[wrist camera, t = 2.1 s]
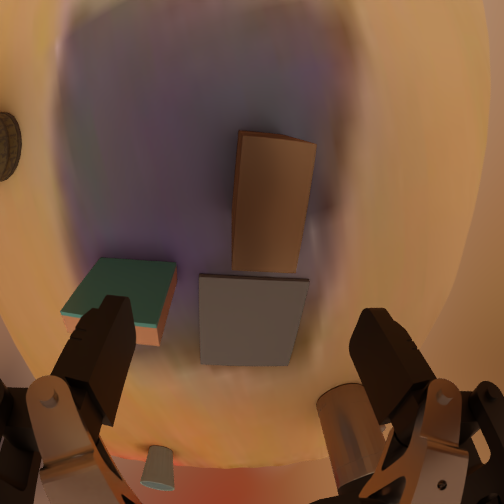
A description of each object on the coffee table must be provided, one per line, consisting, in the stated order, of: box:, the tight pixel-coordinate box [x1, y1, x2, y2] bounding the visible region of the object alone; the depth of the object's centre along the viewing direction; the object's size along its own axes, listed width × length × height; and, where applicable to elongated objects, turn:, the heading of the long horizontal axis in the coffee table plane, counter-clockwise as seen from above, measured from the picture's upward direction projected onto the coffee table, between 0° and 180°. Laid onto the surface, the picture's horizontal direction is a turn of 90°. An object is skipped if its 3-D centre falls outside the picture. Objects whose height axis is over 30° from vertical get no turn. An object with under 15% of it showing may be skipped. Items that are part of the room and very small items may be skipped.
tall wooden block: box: [232, 130, 317, 273], centre depth 21 cm, size 4×8×11 cm, turn 174°
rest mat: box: [199, 274, 310, 366], centre depth 33 cm, size 12×14×1 cm
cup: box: [140, 446, 174, 491], centre depth 46 cm, size 8×8×10 cm
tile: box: [60, 257, 177, 346], centre depth 25 cm, size 9×2×10 cm, turn 85°
